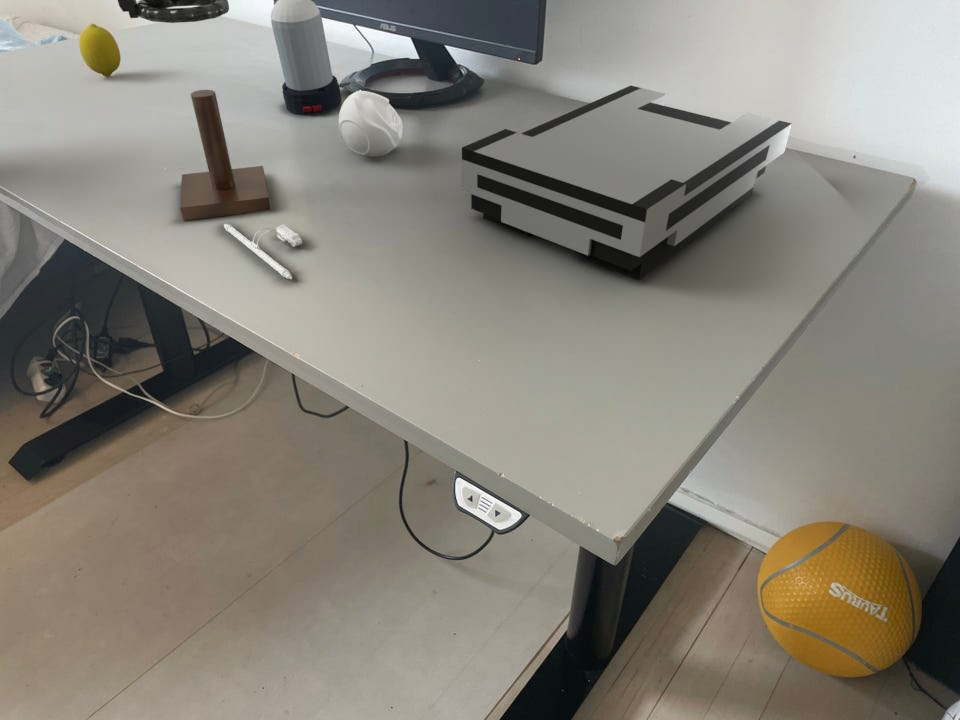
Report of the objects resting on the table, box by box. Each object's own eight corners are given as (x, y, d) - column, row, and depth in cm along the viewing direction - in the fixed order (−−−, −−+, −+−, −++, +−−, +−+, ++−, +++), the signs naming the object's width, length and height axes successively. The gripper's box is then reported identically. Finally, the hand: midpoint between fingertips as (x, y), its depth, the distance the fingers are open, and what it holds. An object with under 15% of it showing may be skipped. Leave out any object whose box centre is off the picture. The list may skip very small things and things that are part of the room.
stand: (183, 221, 75) (153, 111, 68) (184, 186, 82) (158, 84, 75) (270, 210, 78) (250, 103, 70) (265, 177, 84) (246, 76, 77)
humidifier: (307, 120, 100) (261, -86, 83) (274, 104, 105) (225, -95, 87) (353, 101, 104) (319, -99, 87) (320, 86, 109) (281, -107, 91)
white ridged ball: (398, 167, 87) (393, 103, 82) (336, 166, 87) (328, 101, 82) (407, 143, 93) (404, 82, 88) (349, 141, 93) (343, 80, 89)
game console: (775, 182, 84) (795, 112, 79) (633, 292, 65) (647, 209, 60) (623, 139, 95) (631, 75, 90) (462, 223, 75) (461, 147, 70)
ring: (135, 26, 65) (131, 11, 64) (140, 7, 71) (137, -7, 71) (231, 20, 67) (228, 6, 66) (228, 2, 73) (226, -11, 73)
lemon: (119, 70, 118) (104, 18, 113) (131, 78, 115) (116, 24, 110) (84, 76, 115) (67, 23, 110) (95, 84, 112) (78, 30, 107)
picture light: (221, 228, 74) (217, 210, 73) (260, 216, 76) (256, 198, 75) (288, 283, 66) (284, 262, 64) (329, 267, 68) (326, 247, 67)
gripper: (174, -216, 62) (218, 3, 73) (-1, -218, 59) (73, 12, 69) (172, -218, 56) (220, 19, 67) (-21, -220, 53) (62, 30, 64)
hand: (145, 15), depth 68 cm, fingers closed on ring
